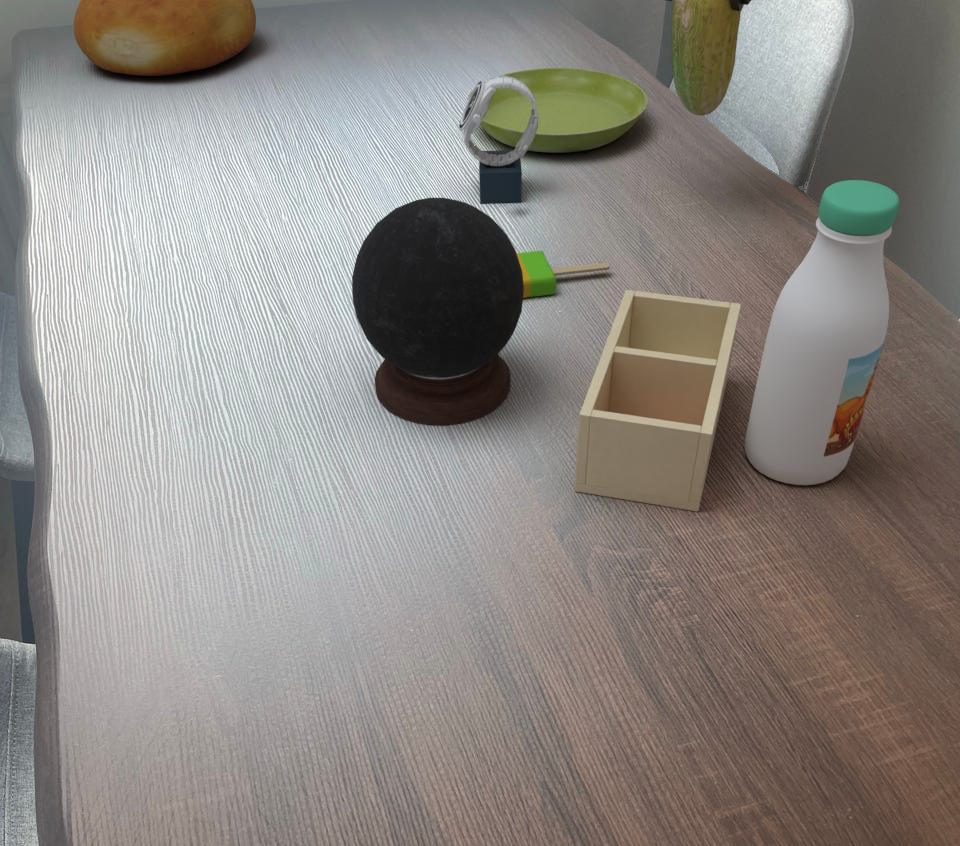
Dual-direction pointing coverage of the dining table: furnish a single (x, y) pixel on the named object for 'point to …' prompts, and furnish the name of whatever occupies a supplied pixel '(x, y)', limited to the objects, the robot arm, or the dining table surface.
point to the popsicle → (547, 273)
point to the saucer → (565, 109)
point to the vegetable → (703, 51)
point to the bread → (162, 33)
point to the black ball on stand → (439, 309)
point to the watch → (501, 166)
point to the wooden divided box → (656, 400)
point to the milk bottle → (824, 341)
